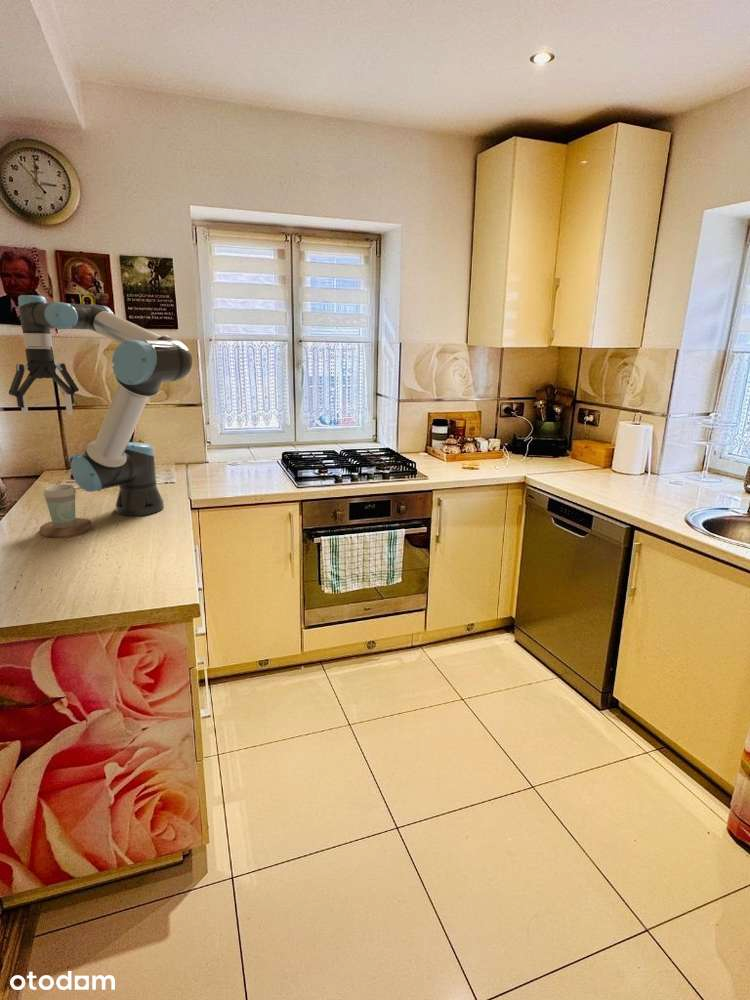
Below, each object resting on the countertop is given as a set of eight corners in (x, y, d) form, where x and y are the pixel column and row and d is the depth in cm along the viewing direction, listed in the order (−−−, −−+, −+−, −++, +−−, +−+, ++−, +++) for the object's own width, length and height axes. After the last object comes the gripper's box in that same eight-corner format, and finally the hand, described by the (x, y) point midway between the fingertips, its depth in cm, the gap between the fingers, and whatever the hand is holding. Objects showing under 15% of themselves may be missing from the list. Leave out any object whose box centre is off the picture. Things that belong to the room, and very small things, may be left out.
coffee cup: (54, 532, 163) (48, 493, 160) (44, 525, 169) (38, 487, 165) (84, 525, 169) (80, 487, 166) (74, 519, 175) (69, 482, 171)
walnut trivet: (99, 522, 177) (99, 518, 176) (80, 537, 163) (79, 533, 163) (54, 522, 176) (53, 518, 175) (31, 538, 162) (30, 533, 162)
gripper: (73, 347, 186) (81, 411, 192) (-12, 347, 166) (0, 418, 172) (84, 348, 181) (92, 413, 187) (-1, 348, 162) (11, 421, 168)
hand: (48, 415), depth 180 cm, fingers open, 13 cm apart
